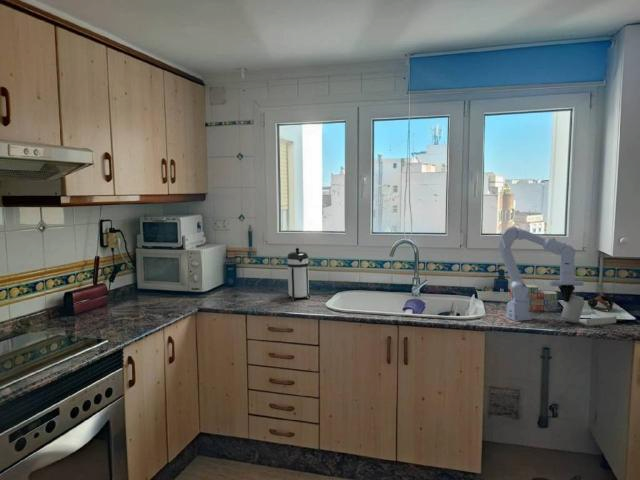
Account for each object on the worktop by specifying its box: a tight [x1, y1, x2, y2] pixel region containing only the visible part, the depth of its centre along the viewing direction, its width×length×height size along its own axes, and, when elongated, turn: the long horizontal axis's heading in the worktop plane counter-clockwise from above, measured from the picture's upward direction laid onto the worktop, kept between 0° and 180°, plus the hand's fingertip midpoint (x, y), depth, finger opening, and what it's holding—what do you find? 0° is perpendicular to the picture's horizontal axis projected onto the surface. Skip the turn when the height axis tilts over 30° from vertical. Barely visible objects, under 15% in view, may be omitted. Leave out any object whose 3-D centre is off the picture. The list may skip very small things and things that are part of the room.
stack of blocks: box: [509, 283, 558, 312], centre depth 241 cm, size 21×6×12 cm, turn 74°
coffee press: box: [286, 247, 311, 299], centre depth 278 cm, size 17×16×30 cm
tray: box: [578, 309, 617, 327], centre depth 219 cm, size 15×13×3 cm
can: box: [560, 294, 586, 324], centre depth 216 cm, size 8×8×12 cm
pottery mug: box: [587, 294, 614, 311], centre depth 237 cm, size 12×10×8 cm
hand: (566, 301), depth 215 cm, fingers closed
